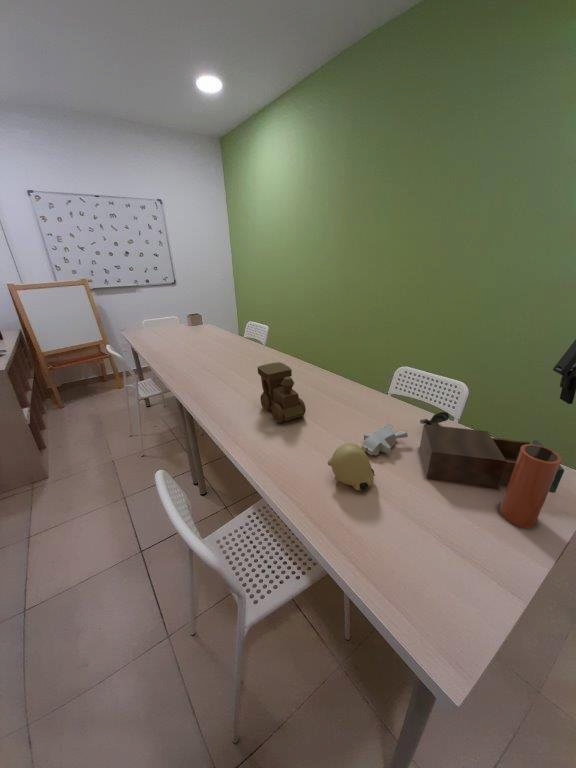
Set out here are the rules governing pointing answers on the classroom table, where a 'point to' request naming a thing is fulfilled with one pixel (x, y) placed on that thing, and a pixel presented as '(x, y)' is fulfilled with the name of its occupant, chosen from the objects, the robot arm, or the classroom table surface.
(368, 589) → the classroom table surface
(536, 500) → the pencil holder
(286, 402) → the wooden toy train
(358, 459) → the tan rounded lump
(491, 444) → the cabinet
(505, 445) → the drawer
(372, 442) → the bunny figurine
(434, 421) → the eagle figurine
